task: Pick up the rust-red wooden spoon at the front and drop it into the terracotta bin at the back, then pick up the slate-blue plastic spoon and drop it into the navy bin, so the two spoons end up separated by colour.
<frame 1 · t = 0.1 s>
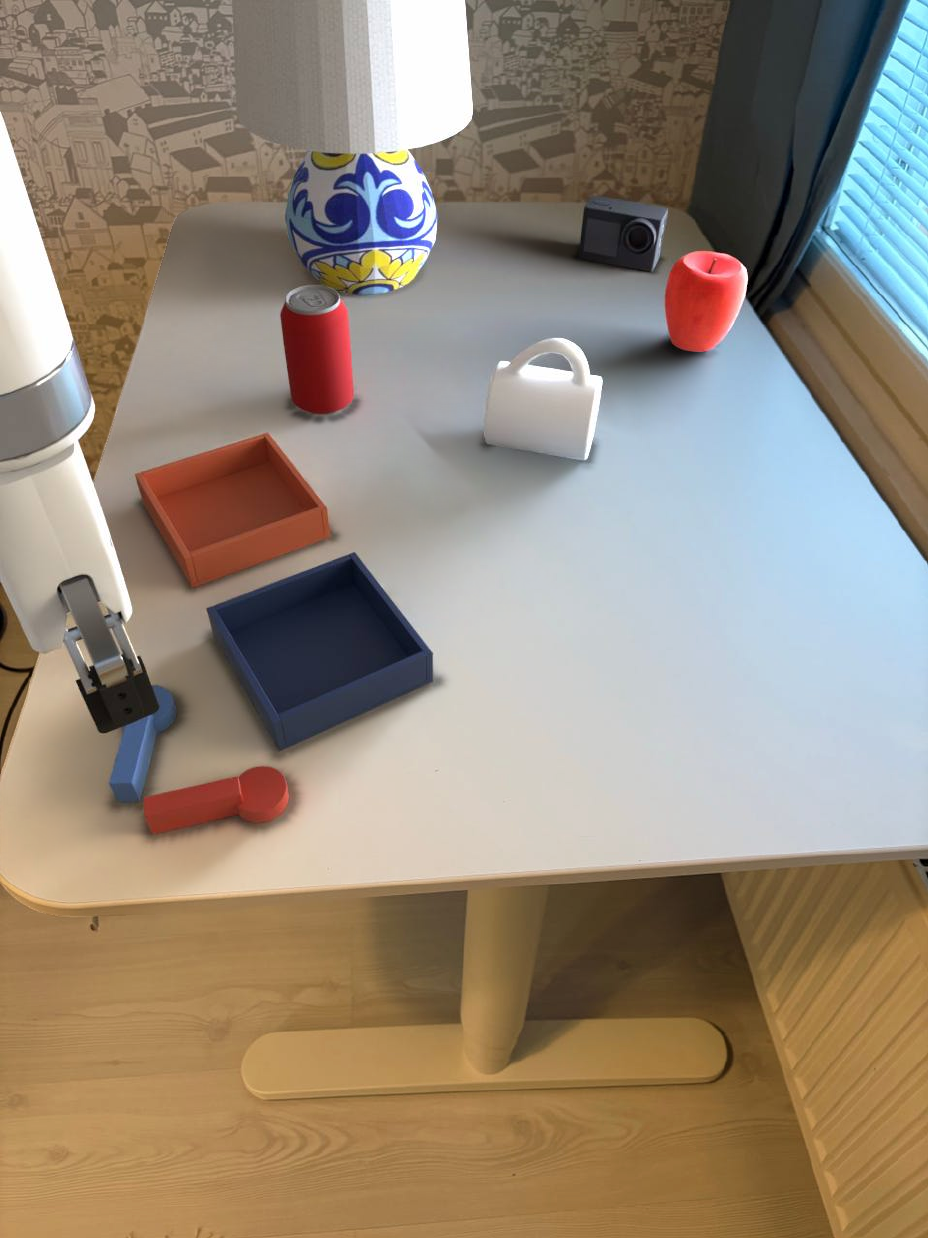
hand: (101, 658, 51), 17 cm above the table, tool pointing down, fingers open, 9 cm apart
red spoon: (221, 808, 64), on the table
blue spoon: (143, 746, 67), on the table
blue bin: (321, 659, 74), on the table
apple: (691, 348, 108), on the table
beverage can: (323, 403, 99), on the table
digital camera: (616, 261, 123), on the table
red bin: (235, 519, 85), on the table
white handbag: (539, 446, 94), on the table
table lamp: (364, 270, 120), on the table
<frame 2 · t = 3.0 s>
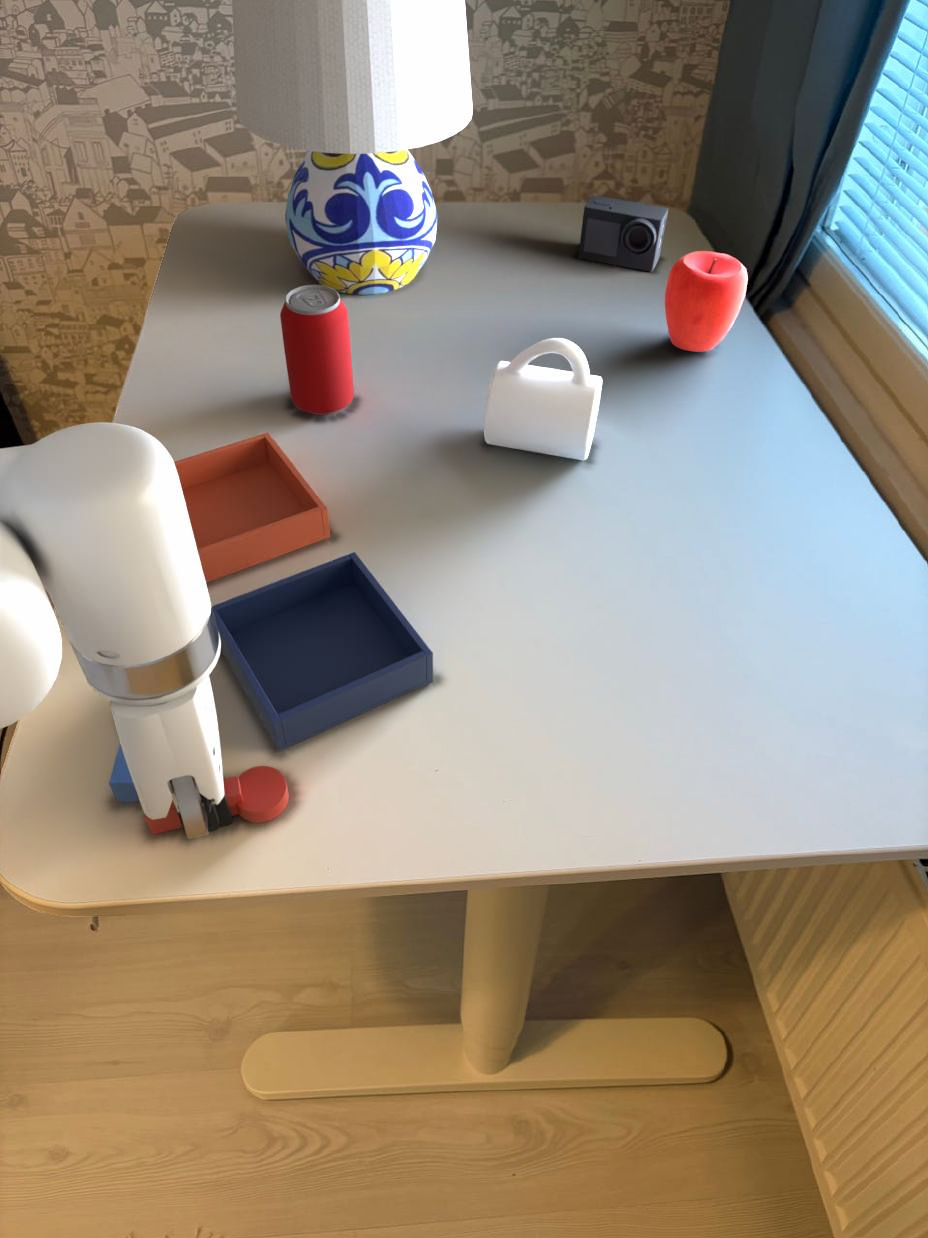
hand: (207, 811, 64), 0 cm above the table, tool pointing down, fingers closed on red spoon, 1 cm apart
red spoon: (221, 808, 64), on the table, touching gripper
everything else where it was.
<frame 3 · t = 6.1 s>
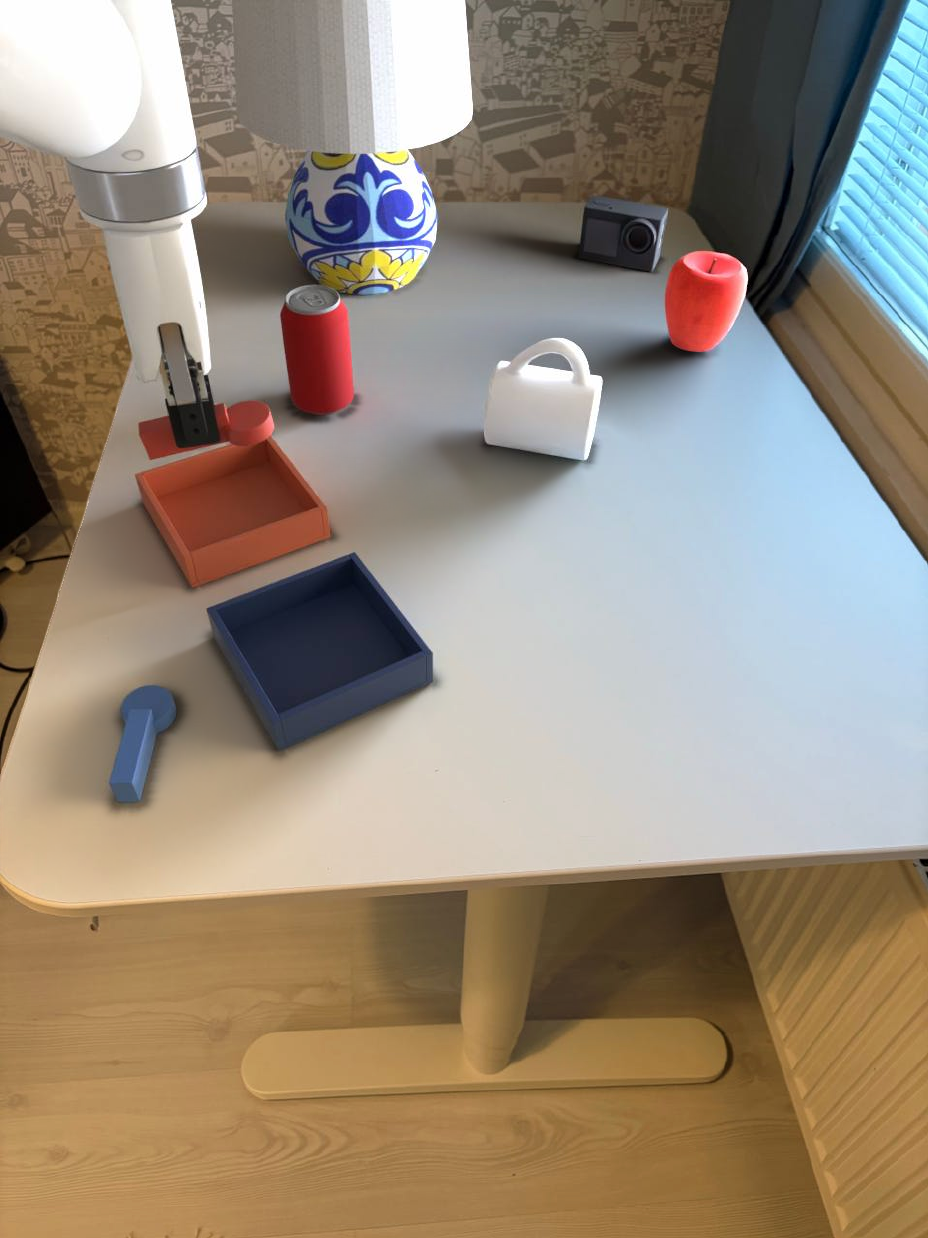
hand: (197, 432, 68), 16 cm above the table, tool pointing down, fingers closed on red spoon, 1 cm apart
red spoon: (213, 439, 69), point 15 cm above the table, tilted 6°, touching gripper
everything else where it was.
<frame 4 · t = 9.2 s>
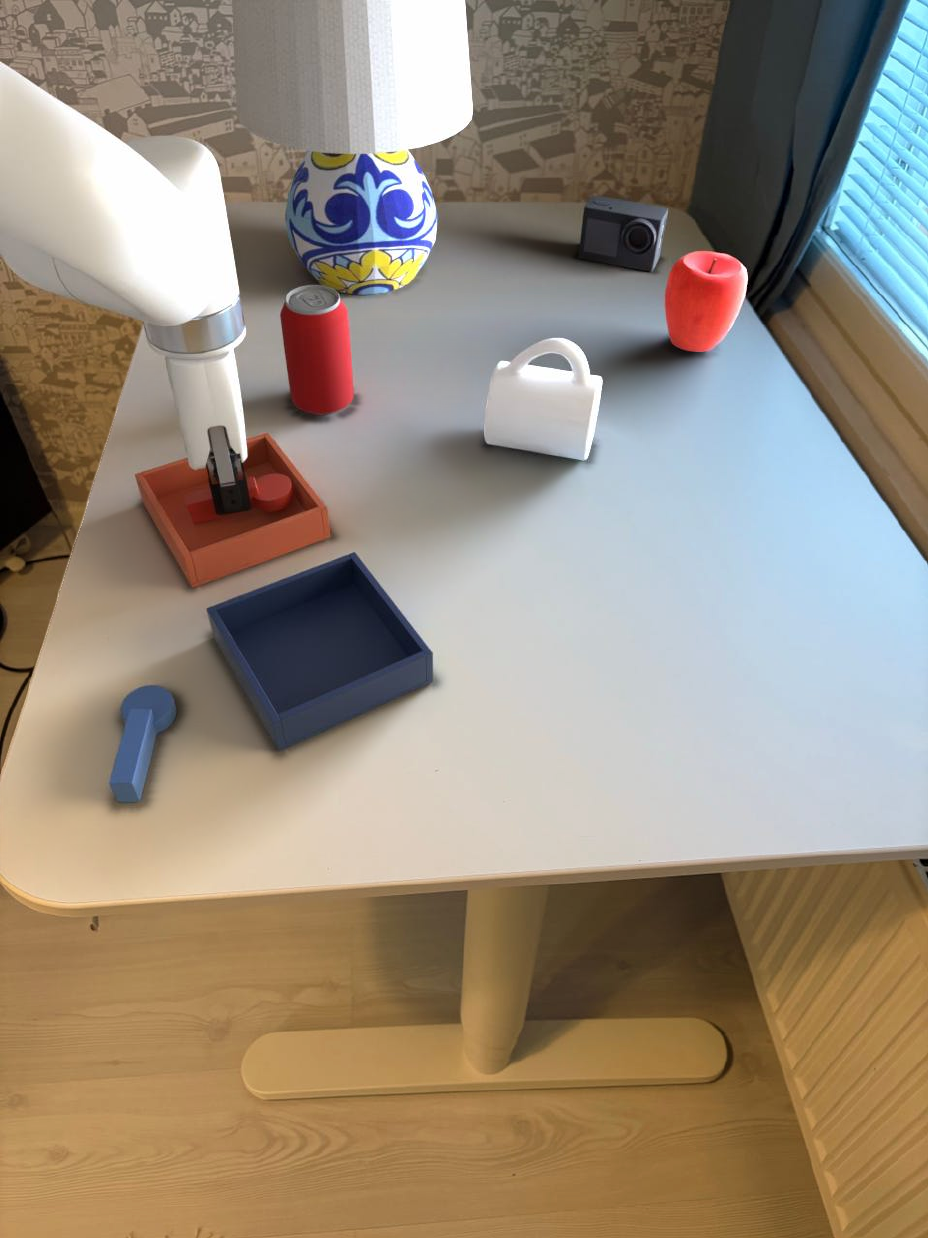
hand: (232, 501, 83), 2 cm above the table, tool pointing down, fingers closed on red spoon, 1 cm apart
red spoon: (244, 505, 84), point 1 cm above the table, tilted 6°, touching gripper
everything else where it was.
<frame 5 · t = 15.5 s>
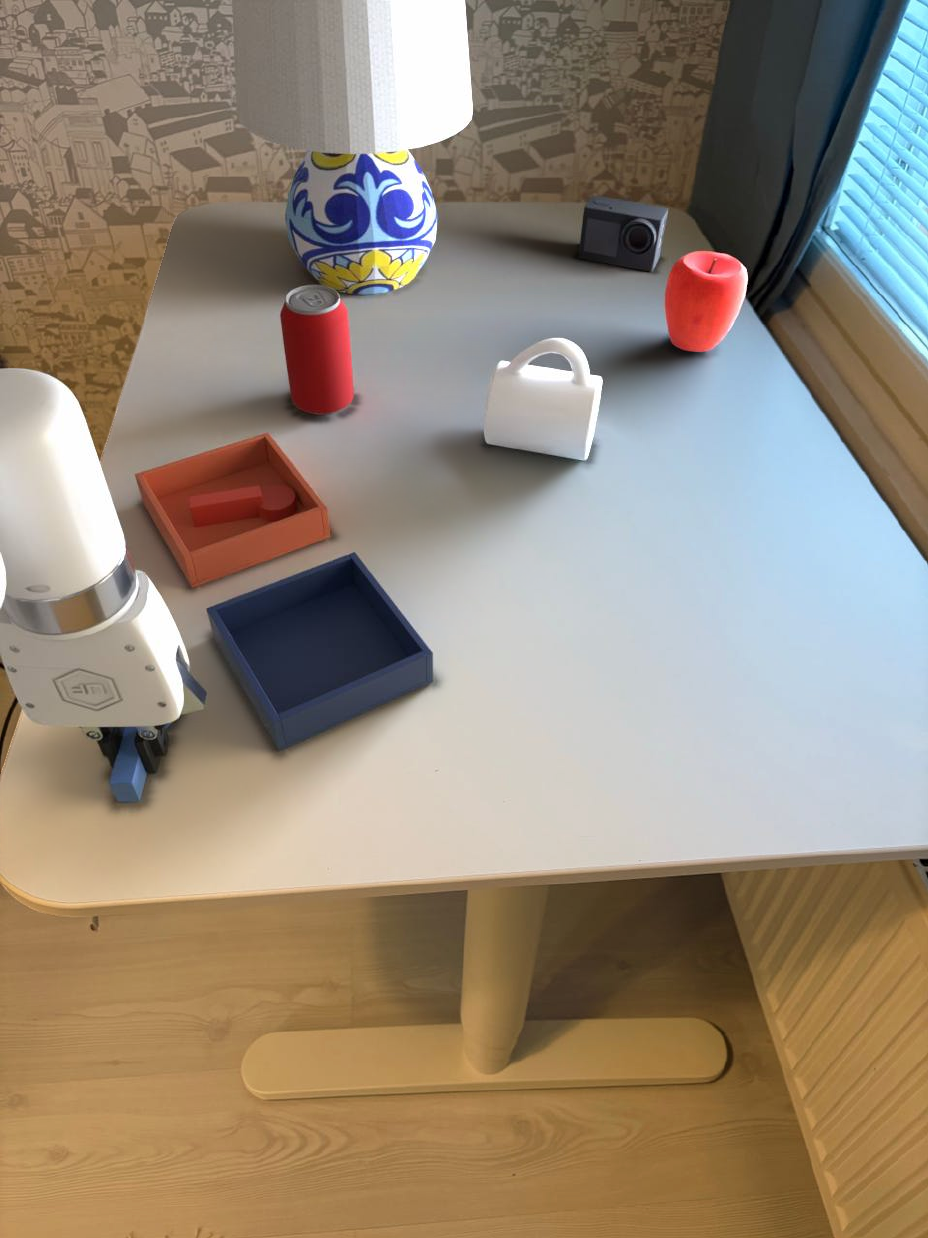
hand: (140, 756, 67), 0 cm above the table, tool pointing down, fingers closed on blue spoon, 1 cm apart
red spoon: (246, 513, 85), resting on red bin
blue spoon: (143, 746, 67), on the table, touching gripper
everything else where it was.
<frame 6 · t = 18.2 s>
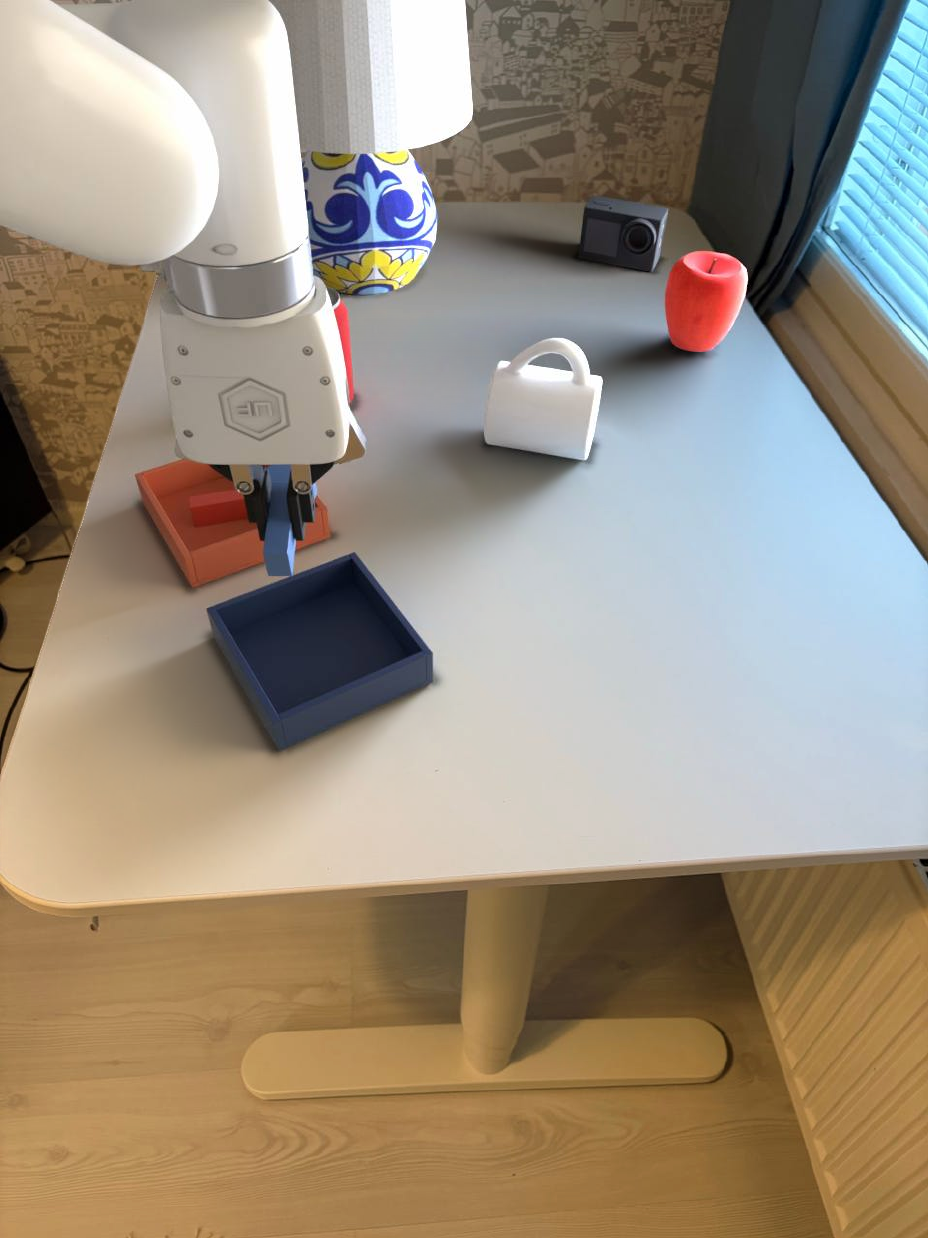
hand: (284, 525, 62), 15 cm above the table, tool pointing down, fingers closed on blue spoon, 1 cm apart
blue spoon: (286, 522, 63), point 14 cm above the table, tilted 7°, touching gripper
everything else where it was.
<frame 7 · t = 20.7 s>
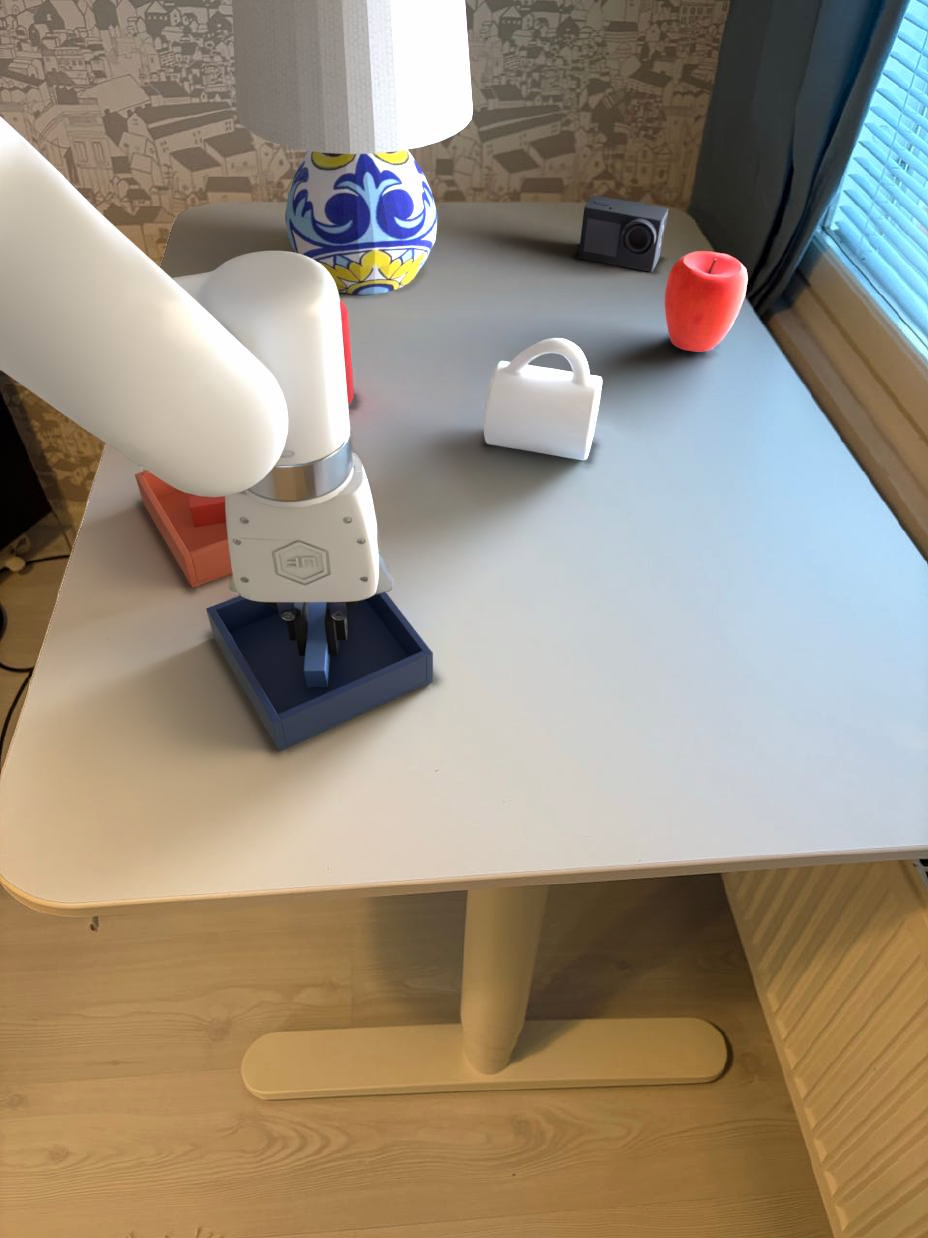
hand: (320, 641, 72), 2 cm above the table, tool pointing down, fingers closed on blue spoon, 1 cm apart
blue spoon: (321, 636, 73), point 2 cm above the table, tilted 7°, touching gripper
everything else where it was.
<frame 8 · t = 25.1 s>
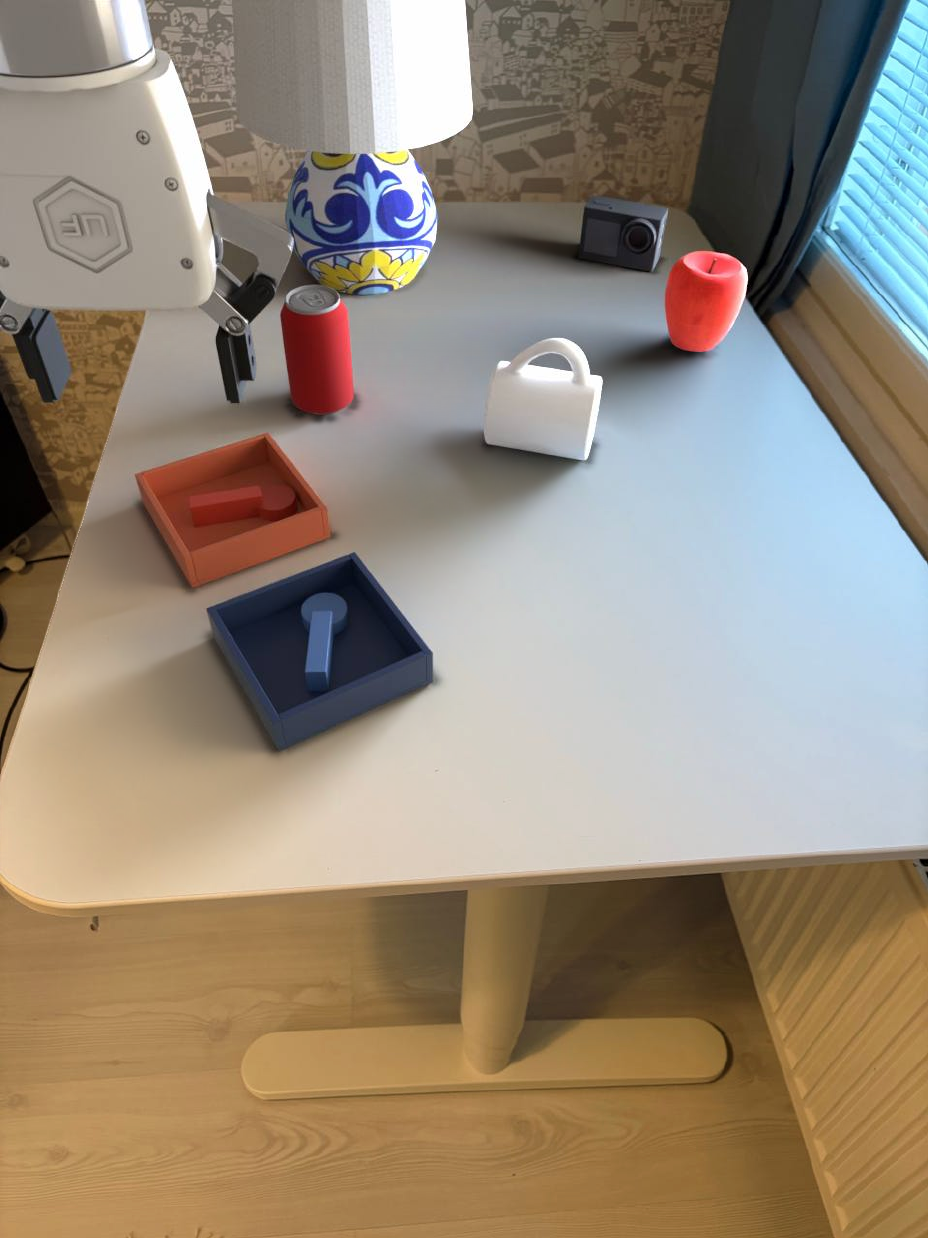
hand: (148, 388, 49), 28 cm above the table, tool pointing down, fingers open, 9 cm apart
blue spoon: (322, 645, 74), resting on blue bin
everything else where it was.
at the end: red spoon inside the target area in the red bin (1.1 cm from its centre), point 0.5 cm above the red bin's base; blue spoon inside the target area in the blue bin (1.1 cm from its centre), point 0.5 cm above the blue bin's base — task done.
